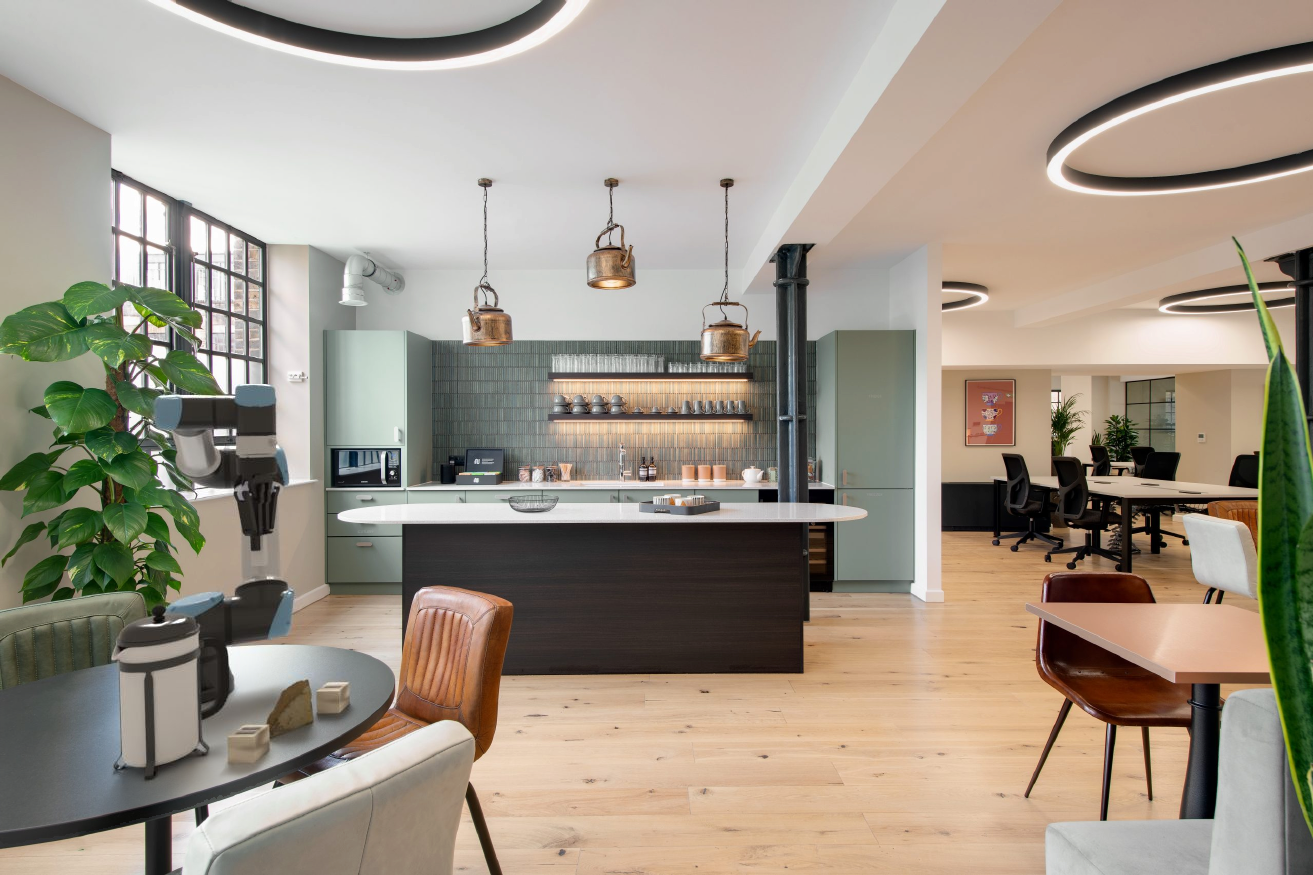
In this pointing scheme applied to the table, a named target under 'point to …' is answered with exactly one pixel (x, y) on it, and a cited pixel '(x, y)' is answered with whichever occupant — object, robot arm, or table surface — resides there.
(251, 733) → the birch block
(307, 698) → the rock
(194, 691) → the coffee press
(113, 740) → the table surface
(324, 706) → the birch block
